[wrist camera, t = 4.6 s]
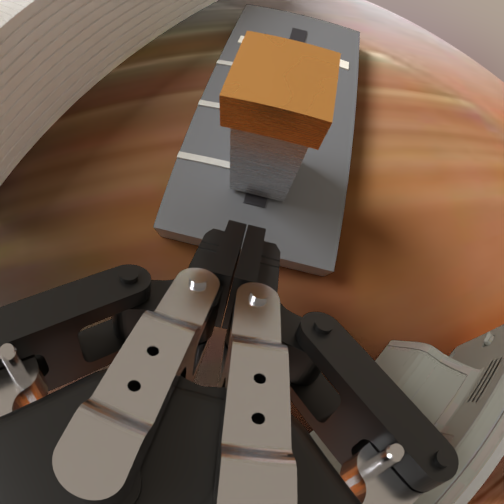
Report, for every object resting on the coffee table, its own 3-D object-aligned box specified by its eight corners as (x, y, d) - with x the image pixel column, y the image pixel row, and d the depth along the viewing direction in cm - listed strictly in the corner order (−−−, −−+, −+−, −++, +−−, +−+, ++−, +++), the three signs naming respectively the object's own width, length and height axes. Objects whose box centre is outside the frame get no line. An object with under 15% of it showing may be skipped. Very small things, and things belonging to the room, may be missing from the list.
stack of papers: (169, -29, 25) (162, -98, 15) (236, -8, 25) (241, -91, 14) (-51, 157, 19) (-114, 108, 9) (-21, 218, 18) (-111, 168, 8)
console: (160, 236, 19) (152, 226, 17) (245, 20, 23) (246, 3, 21) (323, 276, 19) (334, 271, 17) (353, 46, 23) (360, 31, 21)
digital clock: (316, 528, 15) (365, 626, 5) (240, 450, 16) (252, 565, 6) (482, 385, 18) (587, 399, 8) (435, 295, 19) (557, 270, 9)
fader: (222, 192, 17) (219, 95, 9) (239, 137, 18) (247, 30, 10) (287, 208, 17) (332, 122, 9) (299, 152, 18) (340, 53, 10)
